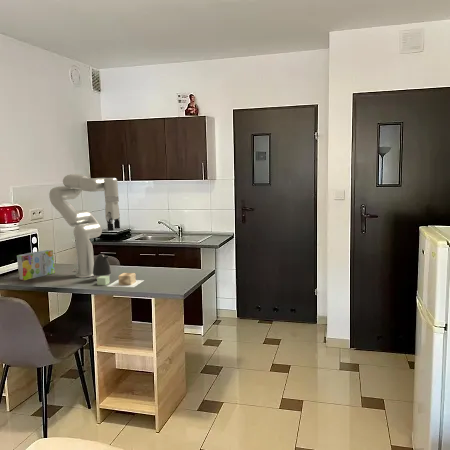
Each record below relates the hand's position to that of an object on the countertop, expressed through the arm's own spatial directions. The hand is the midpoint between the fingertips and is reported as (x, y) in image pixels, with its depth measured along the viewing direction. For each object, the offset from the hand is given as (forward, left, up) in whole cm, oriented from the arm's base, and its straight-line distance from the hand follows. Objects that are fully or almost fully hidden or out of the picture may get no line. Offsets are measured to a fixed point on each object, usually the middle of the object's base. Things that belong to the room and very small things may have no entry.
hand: (114, 229), depth 263 cm
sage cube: (-2, -13, -30) cm, 32 cm away
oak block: (+11, -11, -29) cm, 32 cm away
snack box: (-54, +4, -30) cm, 62 cm away
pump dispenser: (-9, 0, -30) cm, 31 cm away
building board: (+10, -11, -30) cm, 33 cm away
